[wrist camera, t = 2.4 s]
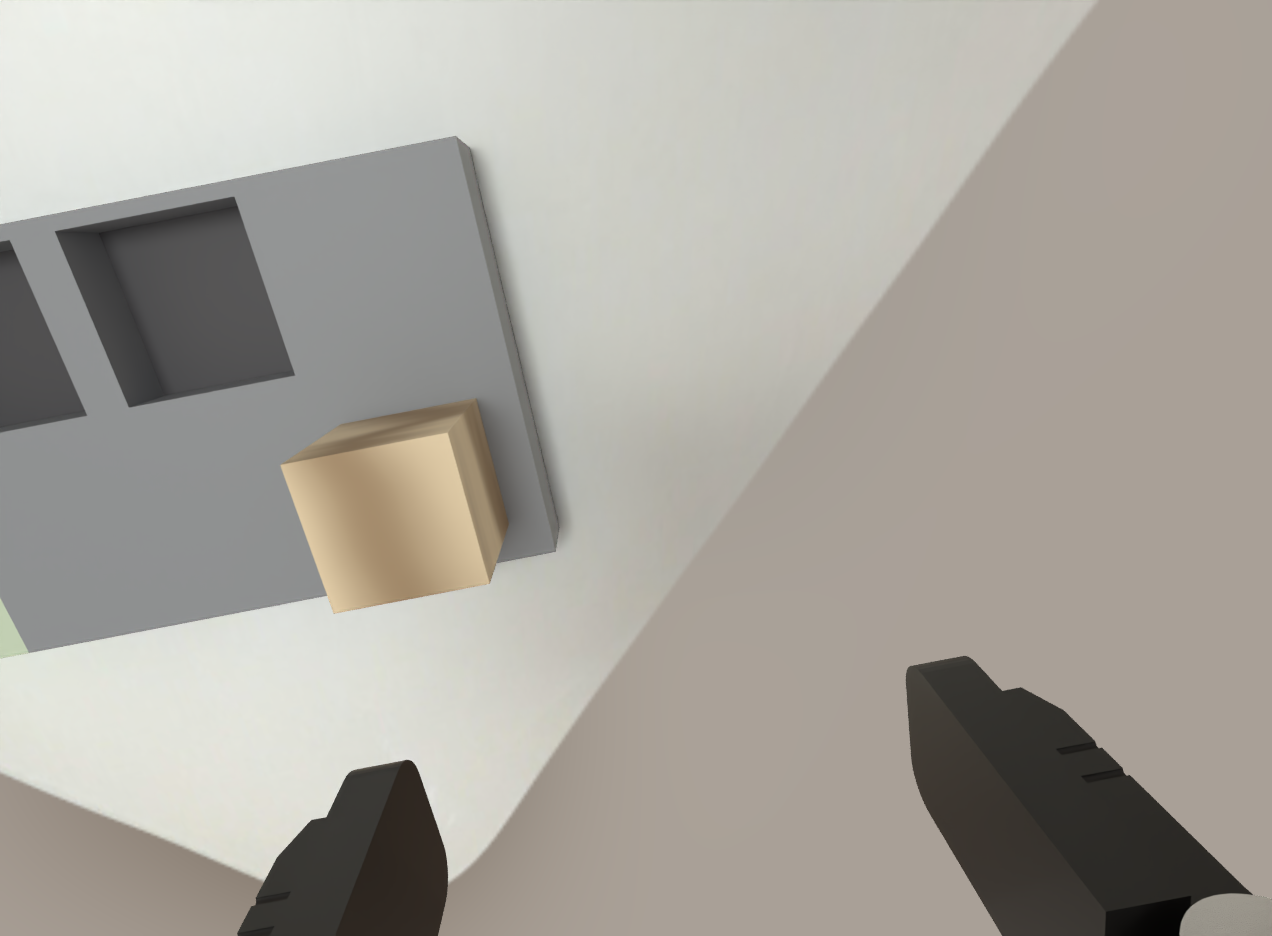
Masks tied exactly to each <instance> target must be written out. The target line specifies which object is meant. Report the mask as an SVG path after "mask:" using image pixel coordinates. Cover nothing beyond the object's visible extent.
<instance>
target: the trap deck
mask: <svg viewBox="0 0 1272 936" xmlns="http://www.w3.org/2000/svg"><path fill="white" fill-rule="evenodd" d="M474 398H476V399H477V403H478V407H479V411H480V415H481V419H482V422H483V426H484V430H485V434H486V438H487V442H488V445H489V449H490V453H491V457H492V461H493V465H494V469H495V472H496V476H497V480H498V484H499V488H500V492H501V495H502V499H503V503H504V507H505V511H506V515H507V518H508V522H509V525H508V528H507V531H506V535H505V538H504V541H503V544H502V547H501V550H500V553H499V556H498V559H497V562H496V563H499V562H505V561H510V560H515V559H520V558H525V557H531V556H536V555H541V554H546V553H551V552H556V546H557V539H558V532H559V525H558V521H557V516H556V512H555V508H554V504H553V499H552V495H551V491H550V487H549V483H548V478H547V474H546V470H545V466H544V461H543V457H542V453H541V449H540V444H539V440H538V436H537V432H536V428H535V423H534V419H533V415H532V411H531V406H530V402H529V398H528V394H527V390H526V385H525V381H524V377H523V373H522V368H521V364H520V360H519V356H518V351H517V347H516V343H515V339H514V335H513V330H512V326H511V322H510V318H509V313H508V309H507V305H506V301H505V297H504V292H503V288H502V284H501V280H500V275H499V271H498V267H497V263H496V258H495V254H494V250H493V246H492V242H491V237H490V233H489V229H488V225H487V220H486V216H485V212H484V208H483V203H482V199H481V195H480V191H479V187H478V182H477V178H476V174H475V170H474V165H473V161H472V157H471V153H470V149H469V147H468V146H467V145H466V144H465V143H463V142H462V141H461V140H460V139H459V138H457V137H456V136H453V137H448V138H443V139H438V140H433V141H427V142H422V143H417V144H412V145H407V146H402V147H397V148H391V149H386V150H381V151H376V152H371V153H366V154H360V155H355V156H350V157H345V158H340V159H335V160H330V161H324V162H319V163H314V164H309V165H304V166H299V167H294V168H288V169H283V170H278V171H273V172H268V173H263V174H258V175H252V176H247V177H242V178H237V179H232V180H227V181H222V182H216V183H211V184H206V185H201V186H196V187H191V188H186V189H180V190H175V191H170V192H165V193H160V194H155V195H149V196H144V197H139V198H134V199H129V200H124V201H119V202H113V203H108V204H103V205H98V206H93V207H88V208H83V209H77V210H72V211H67V212H62V213H57V214H52V215H47V216H41V217H36V218H31V219H26V220H21V221H16V222H11V223H5V224H0V658H5V657H10V656H16V655H21V654H26V653H31V652H37V651H42V650H47V649H52V648H57V647H63V646H68V645H73V644H78V643H83V642H89V641H94V640H99V639H104V638H109V637H115V636H120V635H125V634H130V633H135V632H141V631H146V630H151V629H156V628H161V627H167V626H172V625H177V624H182V623H187V622H193V621H198V620H203V619H208V618H213V617H219V616H224V615H229V614H234V613H239V612H245V611H250V610H255V609H260V608H265V607H271V606H276V605H281V604H286V603H291V602H297V601H302V600H307V599H312V598H317V597H323V596H327V593H326V591H325V588H324V585H323V582H322V579H321V577H320V574H319V571H318V568H317V566H316V563H315V560H314V557H313V555H312V552H311V549H310V546H309V543H308V541H307V538H306V535H305V532H304V530H303V527H302V524H301V521H300V519H299V516H298V513H297V510H296V507H295V505H294V502H293V499H292V496H291V494H290V491H289V488H288V485H287V483H286V480H285V477H284V474H283V471H282V469H281V466H280V465H281V464H282V463H284V462H285V461H287V460H288V459H290V458H291V457H293V456H294V455H296V454H297V453H299V452H300V451H302V450H303V449H305V448H306V447H308V446H309V445H311V444H312V443H314V442H315V441H316V440H318V439H319V438H321V437H322V436H324V435H325V434H327V433H328V432H330V431H331V430H333V429H334V428H336V427H337V426H339V425H340V424H345V423H350V422H355V421H360V420H365V419H370V418H376V417H381V416H386V415H391V414H396V413H402V412H407V411H412V410H417V409H422V408H427V407H433V406H438V405H443V404H448V403H453V402H458V401H464V400H469V399H474Z"/></svg>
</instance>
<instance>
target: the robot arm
mask: <svg viewBox="0 0 1272 936" xmlns="http://www.w3.org/2000/svg"><path fill="white" fill-rule="evenodd" d="M906 689H907V704H908V718H909V731H910V746H911V759H912V765H913V771H914V775H915V779H916V782H917V786H918V789H919V791H920V794H921V797H922V799H923V801H924V804H925V805H926V808H927V810H928V811H929V813H930V815H931V817H932V818H933V820H934V821H935V823H936V825H937V827H938V828H939V830H940V832H941V833H942V835H943V837H944V838H945V840H946V842H947V843H948V845H949V847H950V849H951V850H952V852H953V854H954V855H955V857H956V859H957V860H958V862H959V864H960V865H961V867H962V869H963V870H964V872H965V874H966V875H967V877H968V879H969V881H970V882H971V884H972V885H973V887H974V889H975V891H976V892H977V894H978V896H979V897H980V899H981V901H982V902H983V904H984V906H985V907H986V909H987V911H988V912H989V914H990V916H991V917H992V919H993V921H994V922H995V924H996V926H997V927H998V929H999V931H1000V933H1001V934H1002V936H1272V899H1270V898H1266V897H1262V896H1255V895H1253V894H1252V893H1250V892H1249V891H1248V890H1247V889H1246V888H1245V887H1244V886H1243V885H1242V884H1241V883H1239V881H1237V880H1236V879H1235V878H1234V877H1233V876H1232V875H1231V874H1230V873H1229V872H1228V871H1227V870H1226V869H1225V868H1224V867H1223V866H1222V865H1221V864H1220V863H1219V862H1218V861H1217V860H1216V859H1215V858H1214V857H1213V856H1212V855H1211V854H1210V853H1209V852H1208V851H1207V850H1206V849H1205V848H1204V847H1203V846H1202V845H1201V844H1200V843H1199V842H1198V841H1197V840H1196V839H1195V838H1193V836H1192V835H1191V834H1189V833H1188V832H1187V831H1186V830H1185V829H1184V828H1183V827H1182V826H1181V825H1180V824H1179V823H1178V822H1177V821H1176V820H1175V819H1174V818H1173V817H1172V816H1171V815H1170V814H1169V813H1168V812H1167V811H1166V810H1165V809H1164V808H1163V807H1162V806H1161V805H1160V804H1159V803H1158V802H1157V801H1156V800H1155V799H1154V798H1153V797H1152V796H1151V795H1150V794H1149V793H1147V792H1146V791H1145V790H1144V788H1142V787H1141V786H1140V785H1139V784H1138V783H1137V782H1136V781H1135V780H1134V779H1133V778H1132V777H1131V776H1130V775H1128V776H1126V775H1125V774H1124V772H1123V768H1122V767H1121V766H1120V765H1119V764H1118V763H1117V762H1116V761H1115V760H1114V759H1113V758H1112V757H1111V756H1110V755H1109V754H1108V753H1107V752H1106V751H1104V749H1103V748H1098V747H1097V746H1096V743H1095V741H1094V740H1093V739H1092V738H1091V737H1090V736H1089V735H1088V734H1087V733H1086V732H1085V731H1084V730H1083V729H1082V728H1081V727H1080V726H1079V725H1078V724H1077V723H1076V722H1075V721H1074V720H1073V719H1072V718H1071V717H1070V716H1069V715H1068V714H1067V713H1066V712H1065V711H1064V710H1062V709H1060V708H1058V707H1056V706H1055V705H1053V704H1051V703H1049V702H1047V701H1045V700H1043V699H1042V698H1040V697H1038V696H1036V695H1034V694H1032V693H1030V692H1028V691H1027V690H1025V689H1023V688H1016V689H1011V690H1006V691H1002V690H1001V689H1000V688H999V687H998V686H997V685H996V684H995V683H994V682H993V681H992V680H991V679H990V678H989V676H988V675H987V674H986V673H985V672H984V671H983V670H982V669H981V668H980V667H979V666H978V665H977V664H976V662H975V661H973V660H972V659H971V658H969V657H967V656H962V657H957V658H951V659H945V660H940V661H935V662H930V663H925V664H919V665H914V666H910V667H909V668H908V669H907V673H906ZM447 887H448V868H447V858H446V853H445V848H444V845H443V842H442V839H441V836H440V833H439V830H438V827H437V824H436V821H435V818H434V815H433V812H432V809H431V807H430V804H429V801H428V798H427V795H426V792H425V789H424V786H423V783H422V780H421V777H420V774H419V772H418V769H417V767H416V766H415V764H414V763H413V762H412V761H410V760H404V761H399V762H394V763H389V764H383V765H378V766H373V767H367V768H362V769H357V770H353V771H351V772H350V773H349V774H348V775H347V776H346V778H345V780H344V782H343V784H342V786H341V788H340V790H339V792H338V794H337V796H336V798H335V800H334V803H333V805H332V807H331V809H330V811H329V813H328V815H327V817H326V818H320V819H315V820H311V821H310V822H309V823H308V824H307V825H306V826H305V828H304V829H303V830H302V831H301V832H300V833H299V834H298V835H297V836H296V837H295V838H294V840H293V841H292V842H291V843H290V844H289V845H288V846H287V847H286V848H285V849H284V850H283V852H282V853H281V854H280V855H279V856H278V857H277V859H276V861H275V863H274V864H273V866H272V868H271V870H270V872H269V874H268V876H267V878H266V880H265V882H264V883H263V886H262V887H261V889H260V891H259V893H258V895H257V897H256V905H255V906H252V907H251V908H250V910H249V912H248V914H247V916H246V918H245V919H244V922H243V923H242V925H241V927H240V929H239V931H238V933H237V934H238V936H438V933H439V928H440V924H441V920H442V915H443V911H444V907H445V902H446V897H447Z"/></svg>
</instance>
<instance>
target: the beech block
mask: <svg viewBox="0 0 1272 936" xmlns="http://www.w3.org/2000/svg"><path fill="white" fill-rule="evenodd" d="M280 466H281V469H282V471H283V474H284V477H285V480H286V483H287V485H288V488H289V491H290V494H291V496H292V499H293V502H294V505H295V507H296V510H297V513H298V516H299V519H300V521H301V524H302V527H303V530H304V532H305V535H306V538H307V541H308V543H309V546H310V549H311V552H312V555H313V557H314V560H315V563H316V566H317V568H318V571H319V574H320V577H321V579H322V582H323V585H324V588H325V591H326V593H327V596H328V599H329V602H330V604H331V607H332V610H333V613H334V614H335V613H340V612H345V611H350V610H356V609H361V608H366V607H371V606H376V605H382V604H387V603H392V602H397V601H402V600H408V599H413V598H418V597H423V596H428V595H434V594H439V593H444V592H449V591H454V590H460V589H465V588H470V587H475V586H480V585H486V584H490V581H491V578H492V575H493V572H494V569H495V566H496V562H497V559H498V556H499V553H500V550H501V547H502V544H503V541H504V538H505V535H506V531H507V528H508V525H509V522H508V518H507V515H506V511H505V507H504V503H503V499H502V495H501V492H500V488H499V484H498V480H497V476H496V472H495V469H494V465H493V461H492V457H491V453H490V449H489V445H488V442H487V438H486V434H485V430H484V426H483V422H482V419H481V415H480V411H479V407H478V403H477V399H476V398H474V399H469V400H464V401H458V402H453V403H448V404H443V405H438V406H433V407H427V408H422V409H417V410H412V411H407V412H402V413H396V414H391V415H386V416H381V417H376V418H370V419H365V420H360V421H355V422H350V423H345V424H340V425H339V426H337V427H336V428H334V429H333V430H331V431H330V432H328V433H327V434H325V435H324V436H322V437H321V438H319V439H318V440H316V441H315V442H314V443H312V444H311V445H309V446H308V447H306V448H305V449H303V450H302V451H300V452H299V453H297V454H296V455H294V456H293V457H291V458H290V459H288V460H287V461H285V462H284V463H282V464H281V465H280Z"/></svg>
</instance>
